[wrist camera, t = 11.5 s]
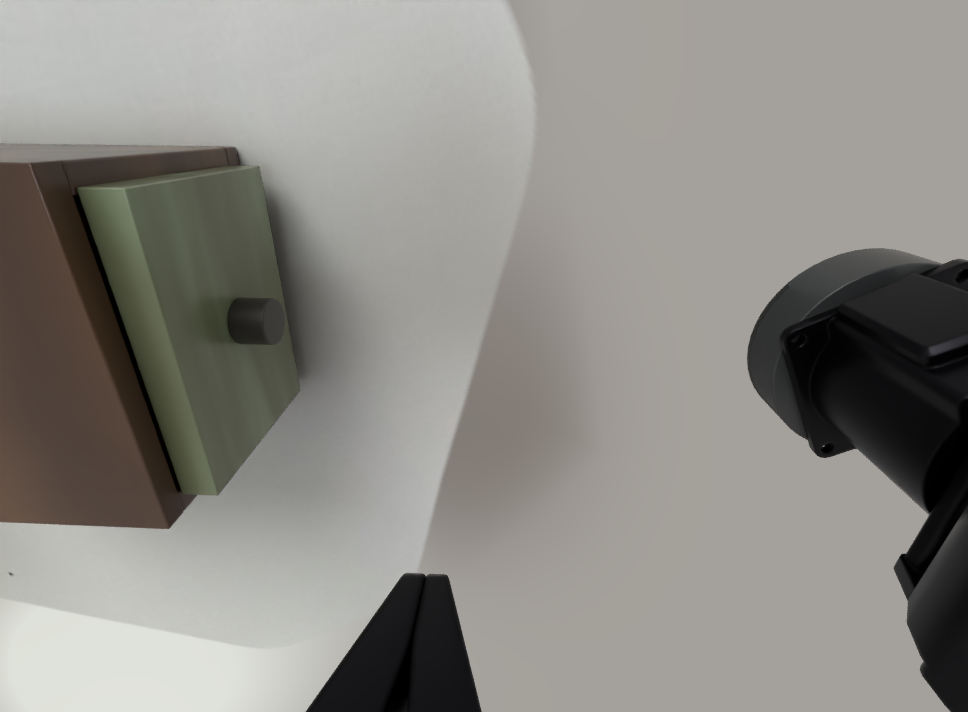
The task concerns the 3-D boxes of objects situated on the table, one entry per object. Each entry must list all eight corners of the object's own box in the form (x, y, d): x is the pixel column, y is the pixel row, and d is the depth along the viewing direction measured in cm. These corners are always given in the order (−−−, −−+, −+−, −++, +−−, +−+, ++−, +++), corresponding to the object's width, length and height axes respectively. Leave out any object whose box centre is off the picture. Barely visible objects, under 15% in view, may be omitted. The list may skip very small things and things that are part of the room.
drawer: (292, 166, 17) (174, 188, 11) (327, 391, 21) (255, 497, 15) (-70, 161, 18) (-374, 179, 12) (33, 382, 22) (-153, 481, 16)
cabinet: (236, 146, 18) (29, 162, 10) (285, 390, 22) (169, 529, 15) (-109, 142, 18) (-559, 154, 11) (8, 382, 23) (-245, 512, 15)
